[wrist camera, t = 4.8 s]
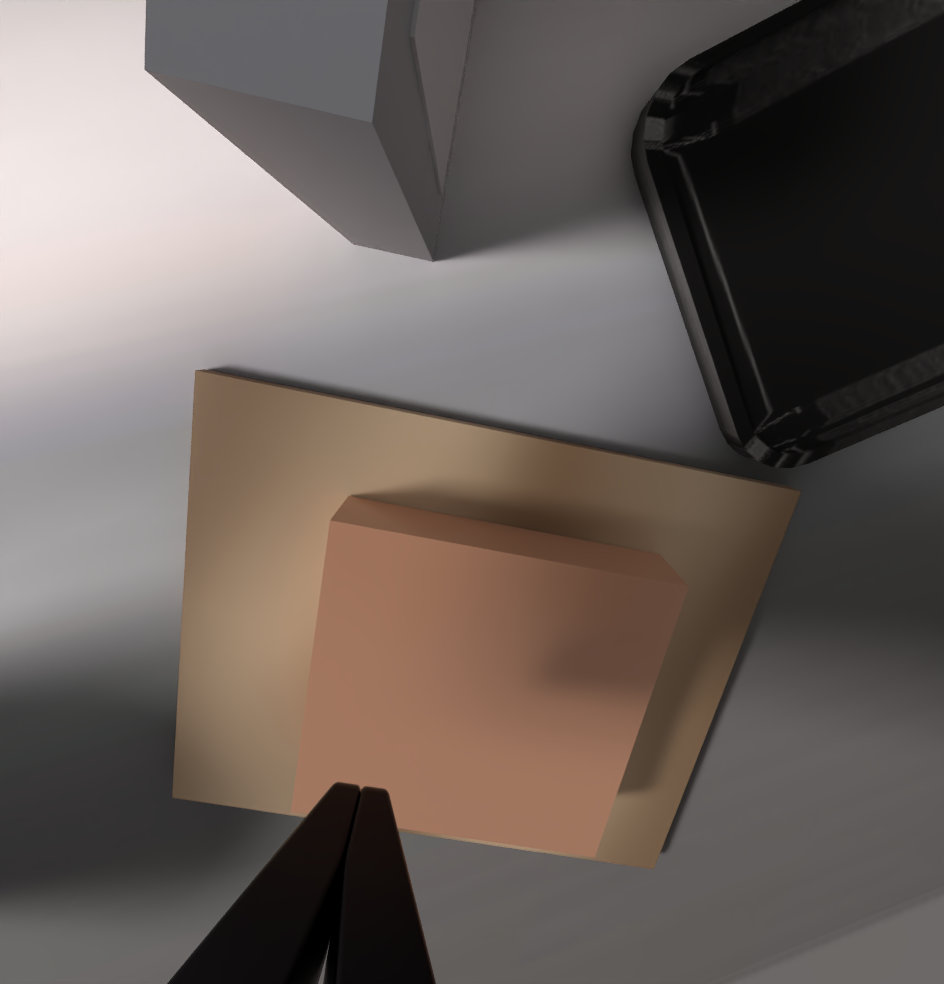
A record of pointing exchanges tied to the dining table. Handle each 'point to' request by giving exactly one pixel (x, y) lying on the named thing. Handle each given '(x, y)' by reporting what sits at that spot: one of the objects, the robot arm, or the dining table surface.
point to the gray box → (329, 100)
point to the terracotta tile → (481, 673)
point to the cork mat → (449, 490)
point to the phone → (807, 221)
